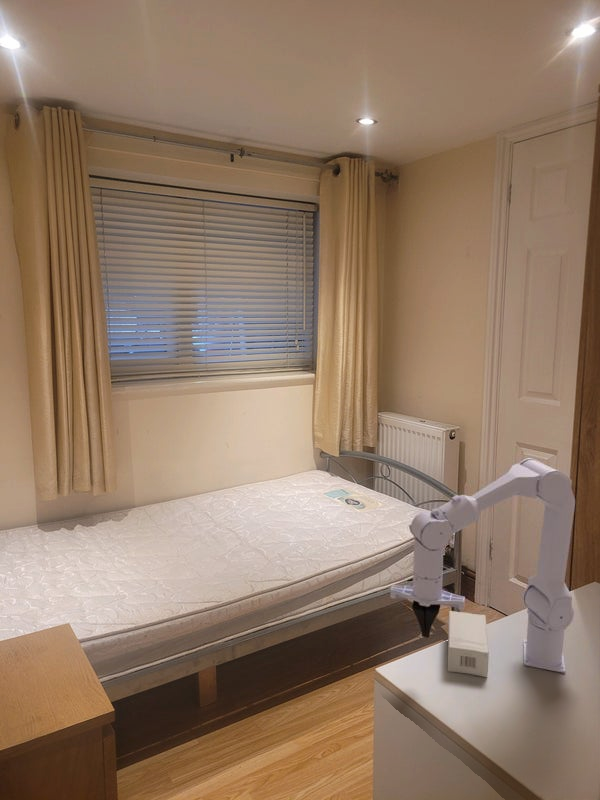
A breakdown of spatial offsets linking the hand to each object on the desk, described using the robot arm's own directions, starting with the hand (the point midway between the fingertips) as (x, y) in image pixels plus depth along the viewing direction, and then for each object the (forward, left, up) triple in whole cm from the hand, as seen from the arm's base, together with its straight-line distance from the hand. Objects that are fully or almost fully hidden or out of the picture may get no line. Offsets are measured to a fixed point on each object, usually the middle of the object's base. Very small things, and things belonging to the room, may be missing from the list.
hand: (426, 634), depth 118 cm
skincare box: (-3, +8, -6) cm, 11 cm away
